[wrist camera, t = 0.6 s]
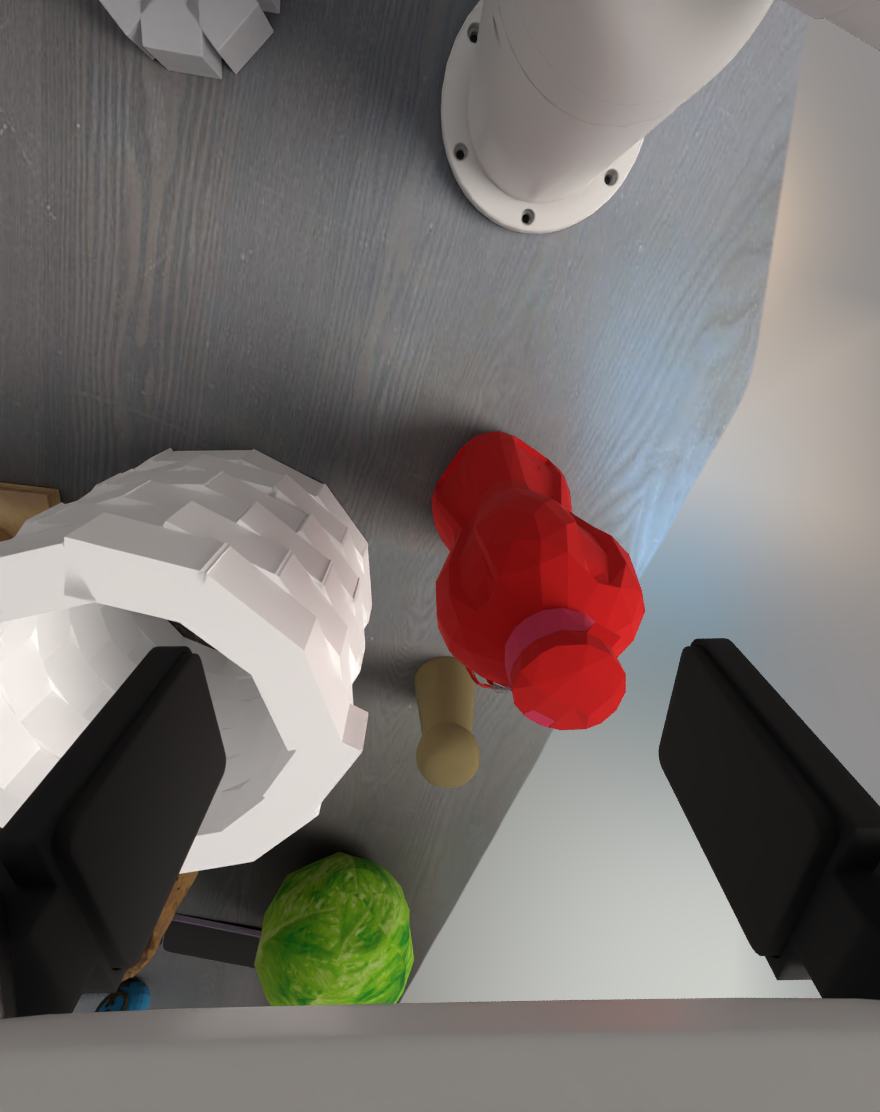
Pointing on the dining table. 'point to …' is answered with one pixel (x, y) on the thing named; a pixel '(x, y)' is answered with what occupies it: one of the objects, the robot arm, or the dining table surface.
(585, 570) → the water bottle
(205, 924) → the smartphone
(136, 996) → the ornament
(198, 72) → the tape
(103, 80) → the dining table surface
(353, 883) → the lettuce
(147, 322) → the dining table surface
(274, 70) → the dining table surface
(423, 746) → the pepper shaker
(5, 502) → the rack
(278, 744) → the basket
